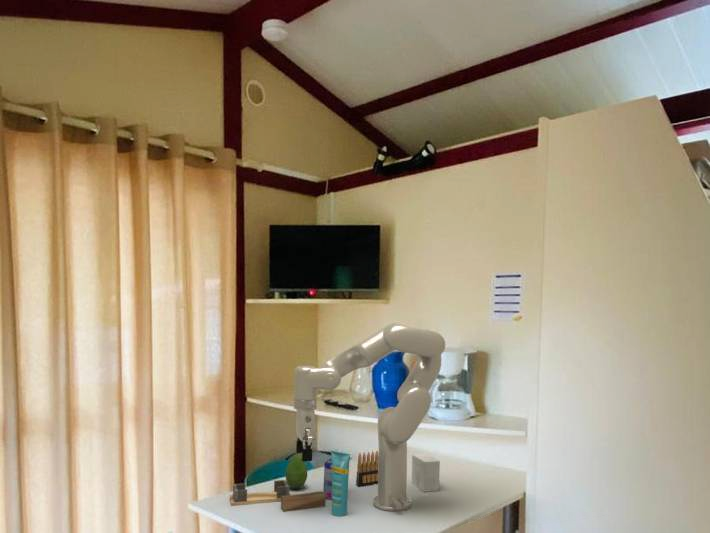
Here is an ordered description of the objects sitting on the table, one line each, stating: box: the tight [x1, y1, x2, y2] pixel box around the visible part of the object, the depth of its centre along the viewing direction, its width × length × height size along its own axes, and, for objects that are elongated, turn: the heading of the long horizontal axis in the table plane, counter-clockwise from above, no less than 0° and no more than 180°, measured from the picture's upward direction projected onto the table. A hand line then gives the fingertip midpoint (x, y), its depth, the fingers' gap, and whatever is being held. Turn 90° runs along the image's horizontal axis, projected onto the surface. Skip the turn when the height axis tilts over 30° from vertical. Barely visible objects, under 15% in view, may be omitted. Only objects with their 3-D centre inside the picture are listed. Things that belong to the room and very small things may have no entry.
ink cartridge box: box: [323, 451, 343, 500], centre depth 188 cm, size 10×6×14 cm, turn 160°
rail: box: [229, 479, 292, 507], centre depth 183 cm, size 7×20×4 cm, turn 107°
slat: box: [280, 490, 327, 513], centre depth 177 cm, size 4×14×4 cm, turn 111°
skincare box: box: [411, 453, 441, 493], centre depth 198 cm, size 10×6×10 cm, turn 20°
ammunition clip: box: [355, 450, 379, 488], centre depth 199 cm, size 11×2×12 cm, turn 116°
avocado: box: [285, 453, 308, 490], centre depth 194 cm, size 8×8×12 cm
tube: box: [330, 450, 351, 517], centre depth 173 cm, size 7×5×19 cm, turn 62°
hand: (303, 456), depth 178 cm, fingers open, 9 cm apart
